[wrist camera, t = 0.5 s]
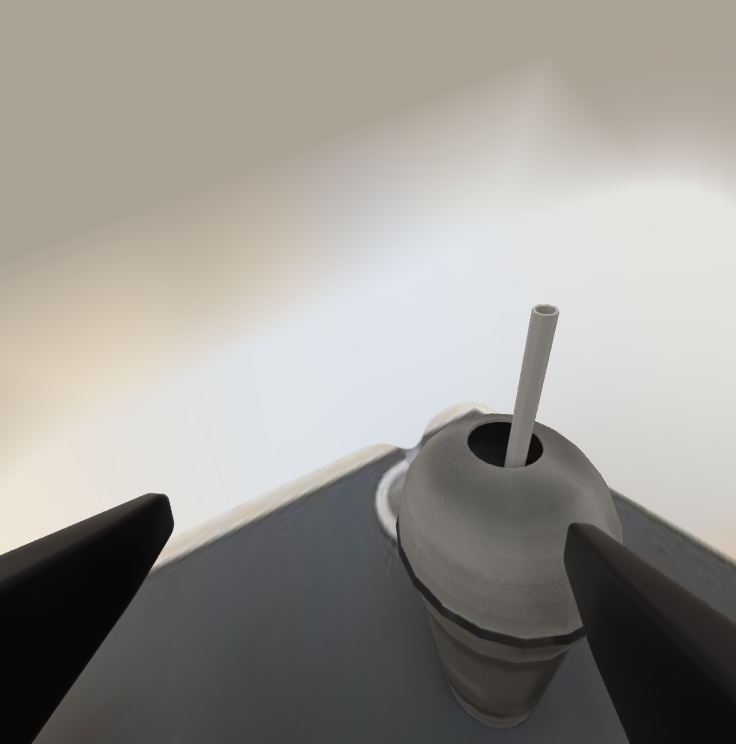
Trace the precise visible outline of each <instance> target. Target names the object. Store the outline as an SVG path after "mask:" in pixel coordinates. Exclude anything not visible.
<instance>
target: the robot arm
mask: <svg viewBox="0 0 736 744" xmlns="http://www.w3.org/2000/svg"><path fill="white" fill-rule="evenodd" d="M173 527H174V520H173V515H172V511H171V506H170V502H169V498H168V497H167V496H166V495H165V494H157V493H149V494H145V495H143V496H140V497H138V498H136V499H133V500H131V501H129V502H126V503H124V504H121V505H119V506H117V507H114V508H112V509H110V510H108V511H105V512H102V513H100V514H98V515H95V516H93V517H90V518H88V519H86V520H83V521H81V522H79V523H76V524H74V525H71V526H69V527H67V528H65V529H62V530H60V531H57V532H55V533H53V534H50V535H48V536H45V537H43V538H40V539H38V540H36V541H33V542H31V543H28V544H26V545H24V546H21V547H19V548H17V549H15V550H12V551H9V552H7V553H5V554H2V555H0V744H32V742H33V741H34V740H35V738H36V737H37V735H38V734H39V732H40V731H41V730H42V728H43V727H44V725H45V724H46V722H47V721H48V720H49V718H50V717H51V715H52V714H53V712H54V711H55V710H56V708H57V707H58V705H59V704H60V702H61V701H62V700H63V698H64V697H65V695H66V694H67V692H68V691H69V690H70V688H71V687H72V685H73V684H74V682H75V681H76V680H77V678H78V677H79V675H80V674H81V673H82V671H83V670H84V668H85V667H86V665H87V664H88V663H89V661H90V660H91V658H92V657H93V655H94V654H95V653H96V651H97V650H98V648H99V647H100V645H101V644H102V643H103V641H104V640H105V638H106V637H107V635H108V634H109V633H110V631H111V630H112V628H113V627H114V625H115V624H116V623H117V621H118V620H119V618H120V617H121V616H122V614H123V613H124V611H125V610H126V608H127V607H128V605H129V604H130V602H131V601H132V599H133V598H134V596H135V595H136V593H137V591H138V590H139V588H140V587H141V585H142V583H143V581H144V580H145V578H146V576H147V575H148V573H149V571H150V570H151V568H152V566H153V565H154V563H155V561H156V559H157V558H158V556H159V554H160V553H161V551H162V549H163V548H164V546H165V544H166V542H167V541H168V539H169V537H170V536H171V534H172V531H173ZM564 566H565V570H566V573H567V576H568V579H569V582H570V586H571V589H572V592H573V595H574V598H575V602H576V605H577V608H578V611H579V614H580V617H581V621H582V624H583V627H584V630H585V633H586V637H587V640H588V643H589V646H590V649H591V651H592V654H593V657H594V659H595V662H596V664H597V667H598V669H599V671H600V674H601V676H602V679H603V681H604V683H605V686H606V688H607V691H608V693H609V695H610V698H611V700H612V702H613V705H614V707H615V710H616V712H617V714H618V717H619V719H620V721H621V724H622V726H623V729H624V731H625V733H626V736H627V738H628V741H629V743H630V744H736V623H735V622H734V621H732V620H731V619H730V618H728V617H727V616H725V615H724V614H722V613H721V612H719V611H718V610H717V609H715V608H714V607H712V606H711V605H709V604H708V603H706V602H705V601H704V600H702V599H701V598H699V597H698V596H696V595H695V594H693V593H692V592H691V591H689V590H688V589H686V588H685V587H683V586H682V585H680V584H679V583H677V582H676V581H675V580H673V579H672V578H670V577H669V576H667V575H666V574H664V573H663V572H662V571H660V570H659V569H657V568H656V567H654V566H653V565H651V564H650V563H649V562H647V561H646V560H644V559H643V558H641V557H640V556H638V555H637V554H636V553H634V552H633V551H631V550H630V549H628V548H627V547H625V546H624V545H622V544H621V543H620V542H618V541H617V540H615V539H614V538H612V537H611V536H609V535H608V534H607V533H605V532H604V531H602V530H601V529H599V528H598V527H596V526H595V525H593V524H587V523H571V524H570V525H569V527H568V531H567V537H566V543H565V549H564Z"/></svg>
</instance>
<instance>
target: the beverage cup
mask: <svg viewBox="0 0 736 744" xmlns="http://www.w3.org/2000/svg"><path fill="white" fill-rule="evenodd" d="M558 315H559V310H558V308H557V307H554V306H551V305H548V304H547V305H537V306H535V307H533V308H532V313H531V318H530V324H529V330H528V335H527V341H526V347H525V352H524V358H523V363H522V369H521V375H520V380H519V386H518V392H517V397H516V403H515V409H514V414H513V415H510V414H484V415H477V416H472V417H469V418H466V419H464V420H461V421H458V422H455V423H453V424H450V425H449V426H447V427H446V428H444V429H443V430H441V431H440V432H439V433H437V434H436V435H434V436H433V437H432V438H431V439H429V440H428V441H427V443H426V444H425V445H424V447H423V448H422V449H421V451H420V452H419V453H418V455H417V456H416V458H415V459H414V460H413V462H412V463H411V465H410V467H409V469H408V471H407V474H406V477H405V481H404V485H403V489H402V493H401V498H400V503H399V514H398V518H397V522H396V531H397V540H398V549H399V555H400V557H401V559H402V561H403V564H404V566H405V568H406V570H407V572H408V574H409V576H410V578H411V581H412V583H413V585H414V586H415V587H416V588H417V589H418V591H419V593H420V596H421V597H422V599H423V602H424V605H425V609H426V612H427V616H428V619H429V623H430V626H431V630H432V633H433V637H434V640H435V644H436V647H437V651H438V654H439V658H440V661H441V665H442V668H443V671H444V673H445V675H446V677H447V680H448V683H449V685H450V688H451V690H452V692H453V694H454V697H455V699H456V700H457V701H458V702H459V704H460V705H461V706H462V707H463V709H464V710H465V711H466V713H468V714H469V715H470V716H472V717H473V718H474V719H476V720H477V721H478V722H480V723H481V724H484V725H487V726H490V727H493V728H496V729H502V728H513V727H515V726H516V725H518V724H520V723H521V722H523V721H524V720H526V719H527V717H528V716H529V714H530V713H532V712H533V710H534V709H535V707H536V706H537V704H538V703H539V701H540V700H541V698H542V697H543V695H544V693H545V691H546V690H547V688H548V686H549V685H550V683H551V681H552V679H553V678H554V676H555V674H556V672H557V671H558V669H559V667H560V666H561V664H562V662H563V660H564V659H565V657H566V655H567V654H568V652H569V650H570V648H571V647H573V646H574V645H576V644H578V643H579V642H580V641H581V640H582V639H583V638H585V637H586V633H585V630H584V627H583V624H582V621H581V617H580V614H579V611H578V608H577V605H576V602H575V598H574V595H573V592H572V589H571V586H570V582H569V579H568V576H567V573H566V570H565V566H564V549H565V543H566V537H567V531H568V527H569V525H570V524H571V523H587V524H593V525H595V526H596V527H598V528H599V529H601V530H602V531H604V532H605V533H607V534H608V535H609V536H611V537H612V538H614V539H615V540H617V541H618V542H620V543H621V544H622V526H621V523H620V520H619V517H618V514H617V511H616V508H615V506H614V503H613V500H612V497H611V494H610V491H609V489H608V486H607V484H606V482H605V481H604V479H603V478H602V476H601V474H600V473H599V472H598V471H597V469H596V468H595V467H594V465H593V464H592V463H591V462H590V461H589V459H588V458H587V457H586V456H585V454H584V453H583V452H582V451H581V450H580V449H579V448H578V447H577V446H576V445H574V444H573V443H572V442H570V441H569V440H568V439H566V438H565V437H564V436H562V435H561V434H559V433H558V432H557V431H555V430H553V429H551V428H549V427H547V426H545V425H543V424H540V423H538V422H536V421H535V418H536V413H537V409H538V405H539V400H540V395H541V391H542V387H543V382H544V378H545V373H546V368H547V364H548V360H549V355H550V351H551V347H552V342H553V337H554V333H555V329H556V324H557V319H558Z"/></svg>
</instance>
